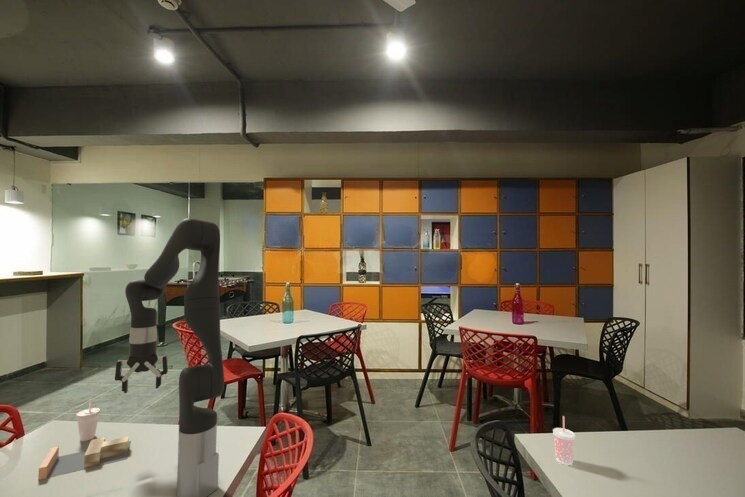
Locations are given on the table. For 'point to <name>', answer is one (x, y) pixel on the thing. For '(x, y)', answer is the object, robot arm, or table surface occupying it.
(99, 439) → the t block
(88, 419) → the smoothie
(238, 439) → the table surface
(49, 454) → the rail
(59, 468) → the mat
